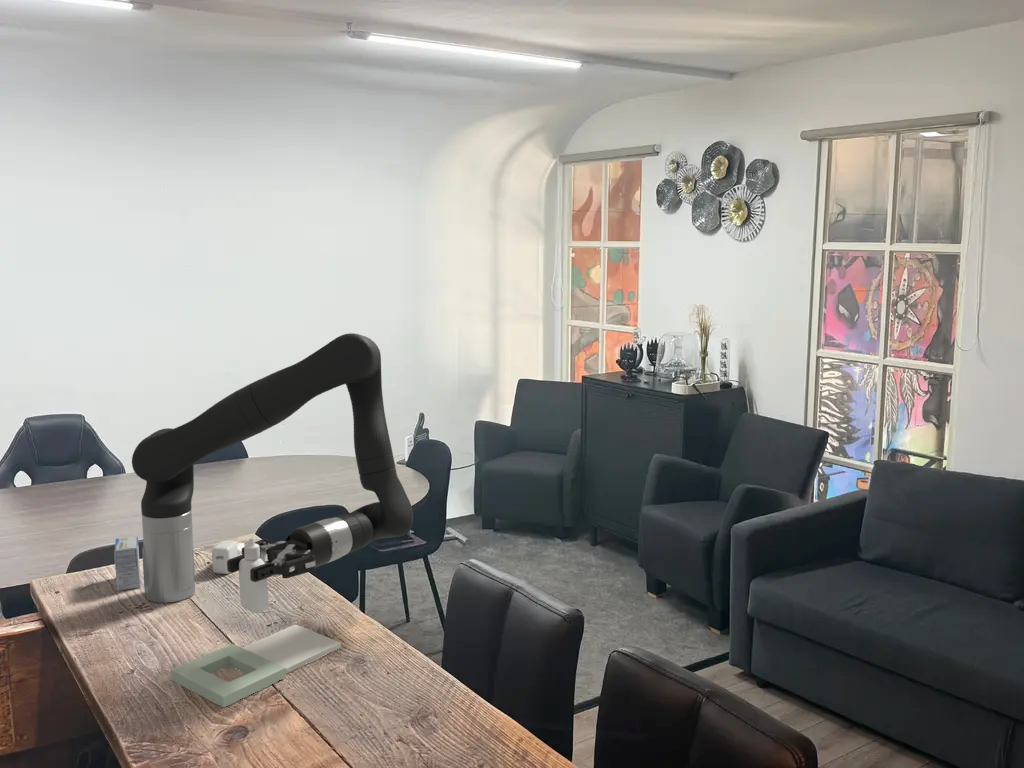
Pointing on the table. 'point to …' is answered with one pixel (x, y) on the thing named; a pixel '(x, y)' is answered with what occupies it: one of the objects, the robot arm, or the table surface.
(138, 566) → the medicine box
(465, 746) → the table surface
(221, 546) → the power adapter
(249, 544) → the eye dropper bottle
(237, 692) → the holder
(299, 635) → the tile
